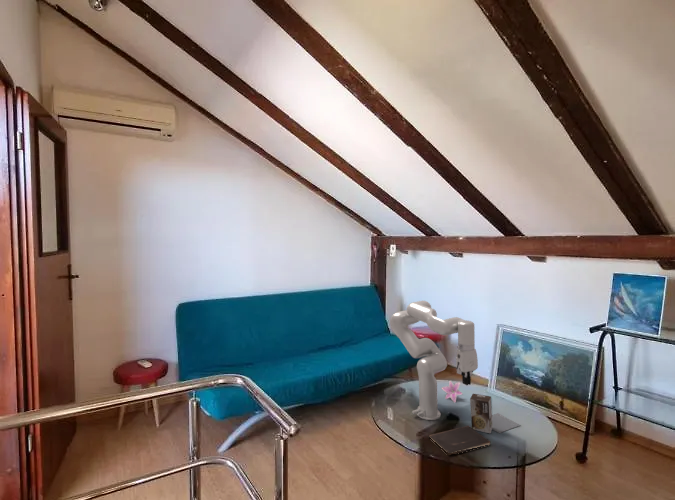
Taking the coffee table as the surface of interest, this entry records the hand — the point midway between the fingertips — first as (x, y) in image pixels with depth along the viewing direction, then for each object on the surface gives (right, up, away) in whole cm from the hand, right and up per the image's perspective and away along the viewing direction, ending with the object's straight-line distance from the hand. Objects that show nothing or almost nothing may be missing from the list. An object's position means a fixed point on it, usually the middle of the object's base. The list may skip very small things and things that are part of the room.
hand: (466, 383), depth 183 cm
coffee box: (+10, -25, +6) cm, 27 cm away
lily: (+5, -23, +40) cm, 46 cm away
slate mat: (+20, -24, +11) cm, 33 cm away
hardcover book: (-5, -26, -5) cm, 27 cm away
